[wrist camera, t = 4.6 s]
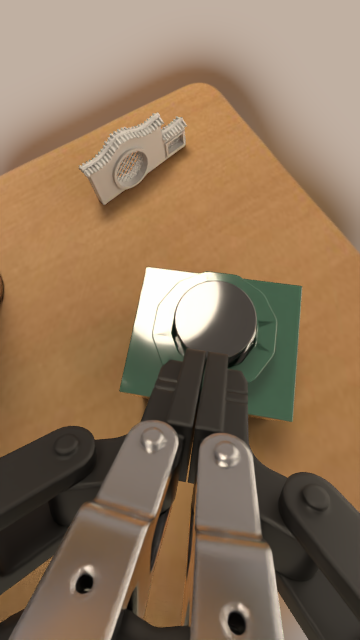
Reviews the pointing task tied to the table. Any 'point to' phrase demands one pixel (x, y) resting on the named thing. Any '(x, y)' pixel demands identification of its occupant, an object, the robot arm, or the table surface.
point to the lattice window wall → (151, 153)
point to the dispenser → (255, 362)
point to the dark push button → (215, 319)
